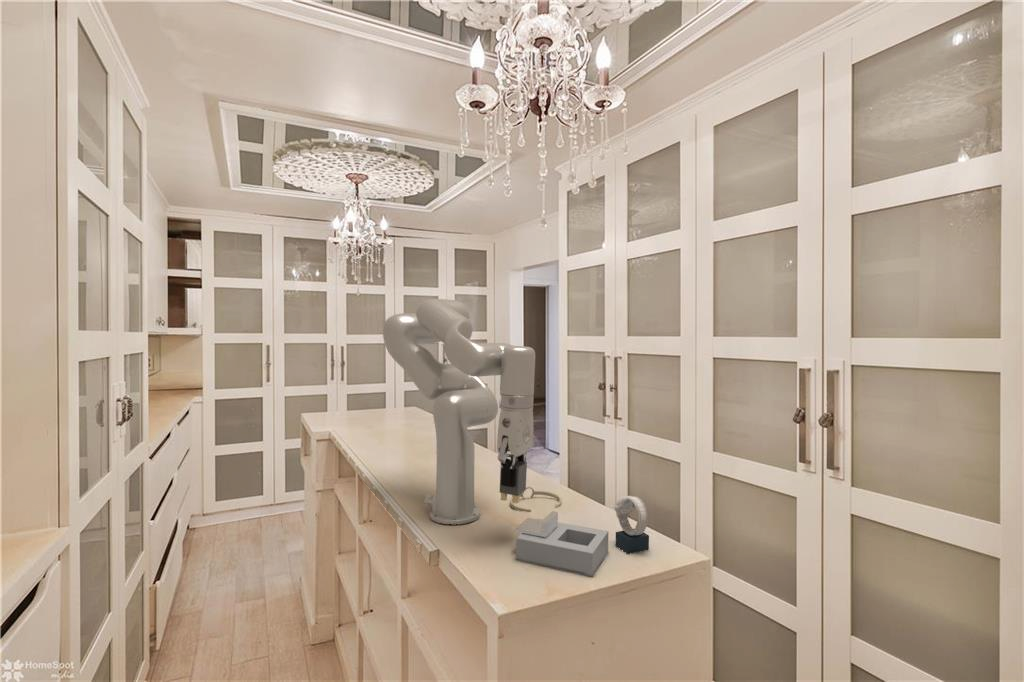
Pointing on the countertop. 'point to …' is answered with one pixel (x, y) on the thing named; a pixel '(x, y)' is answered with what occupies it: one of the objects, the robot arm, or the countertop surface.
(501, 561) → the countertop surface
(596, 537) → the socket box
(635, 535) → the watch
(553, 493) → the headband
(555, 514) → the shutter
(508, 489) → the plug
